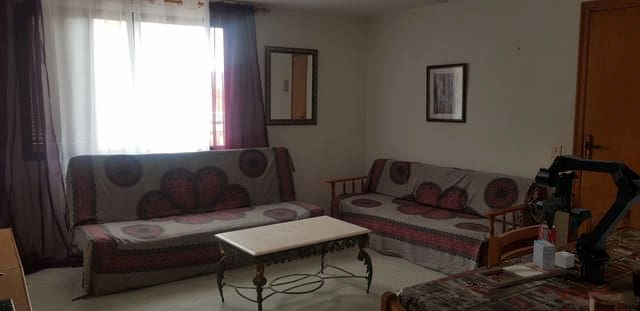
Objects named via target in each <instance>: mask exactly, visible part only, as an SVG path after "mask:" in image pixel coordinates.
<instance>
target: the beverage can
mask: <svg viewBox="0 0 640 311" xmlns="http://www.w3.org/2000/svg"><path fill="white" fill-rule="evenodd" d="M557 231H558V230H557V228H556V226H555V225H553V227H552V230H549V229H548V226H547V223H545V224H540V226H539V228H538V240H546V241H547V242H549V243H551V244H552V245H554V246H555V247H556V248H555V252H556V249H557V233H558V232H557Z"/></svg>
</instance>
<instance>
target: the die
mask: <svg viewBox="0 0 640 311" xmlns="http://www.w3.org/2000/svg"><path fill="white" fill-rule="evenodd" d="M555 266H556V267H559V268H562V269H569V268H574V267H575V254H573V253H570V252H566V251H564V250H563V251H559V252H555Z"/></svg>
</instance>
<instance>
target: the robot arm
mask: <svg viewBox="0 0 640 311" xmlns="http://www.w3.org/2000/svg"><path fill="white" fill-rule="evenodd" d="M576 171H585V172H594V173H605V174H609V175H610V176H611V179H612V181H613V184H614V185H615V186H616V187H617V190H616V194H615V201H614V202H613V203H612V205H611V206H610V207H609V208H608V210H607V211H606V213H604V215H603V217H602V218H601V219H600V221H599V222H598V223H597V224H596V225H595V227H594V228H593V230H590V231H584V232H582V233H580V236H579V237H578V239H576V240H575V242H576V243H575V246H574V247H575V251H576V253H577V256H578V257H577V258H578V261H579V262H580V274H579V276H578V277H577V278H578V279H581V280H584V281H586V282H589V283H592V284H594V285H595V284H596V285H597V284H601V283H606V282H608V279H607V278H606V277H605V276H606V264H607V263H609V261H610V259H611V256H610V255H609V253H608V252H607V250H606V249H605V248H606V246H607V239H608V237H609V236H610V234H612V232H613V231H614V229H616V227H617V226H618V224H620V223H621V221H622V220H623V219H624V217H625V216H626V214H627V213H628V212H629V211H630V209H631V208H632V207H634V206H635V205H637V204H639V203H640V174H638V173H637V172H635V171H634V170H633V169H632V168H630V167H629V166H628V165H627V164H626V162H623V161H621V160H620V161H611V160H610V161H609V160H600V159H599V160H597V159H585V158H583V157H580V156H578V155H574V154H561V155H556V157H554V160H553V162H552V163H551V165H550V166H549V167H548V168H546V167H540V168H539V171H537V173H536V174H535V176H534V182H535V185H537V186H539V187H545V188H551V189H554V191H553V192H552V193H551V196H550V197H549V198H547V199H544V200H538V201H537V202H536V204H535V209H536V210H538V212H539V213H540V214H542V215H543V217H544V219H545V224H547V226H548V229H549V230H552V227H553V226H554V222H555V221H554V220H555V217H556V216H555V215H556V213H557V212H561V213H565V214H569V215H570V217H569V220H570V222H571V225H570V236H571V237H575V236H576V234H577V232H578V230H579V229H580V227H581V225H582V224H583V223H584V222H585V221H587V220H588V219H592V210H591V209H588V208H584V207H578V208H575V204H573V197H576V192H575V193H574V191H573V190H574V180H579V179H580V176H579V175H578V174H577V173H576Z"/></svg>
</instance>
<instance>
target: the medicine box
mask: <svg viewBox="0 0 640 311" xmlns="http://www.w3.org/2000/svg"><path fill="white" fill-rule="evenodd" d="M555 248H556V249H557V246H556V247H555V246H554V245H552V244H551V243H549V242H547V241H546V240H539V239H537V240H534V241H533V253H532V254H533V255H532V256H533V258H532V262H533V263H534V264H536V265H537V266H538V267H540V268H541V269H542V270H555V266H556V265H555V253H556V251H555Z"/></svg>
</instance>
